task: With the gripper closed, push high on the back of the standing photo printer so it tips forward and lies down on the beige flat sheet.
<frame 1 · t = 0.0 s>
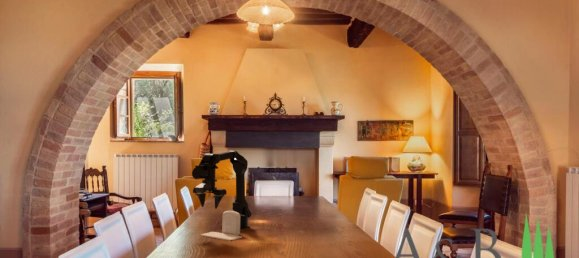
hand: (209, 207, 232), 15 cm above the table, fingers open, 9 cm apart
beige flat sheet: (221, 236, 231), on the table
photo printer: (231, 234, 237), on the table
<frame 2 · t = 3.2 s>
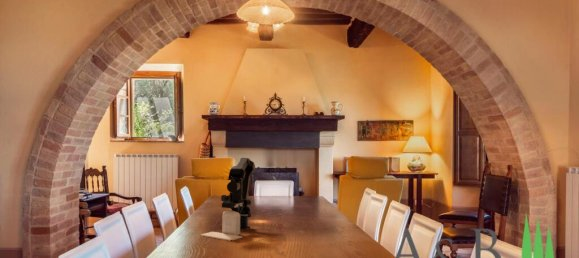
hand: (236, 219, 241), 7 cm above the table, fingers closed
photo printer: (231, 234, 237), on the table, touching gripper
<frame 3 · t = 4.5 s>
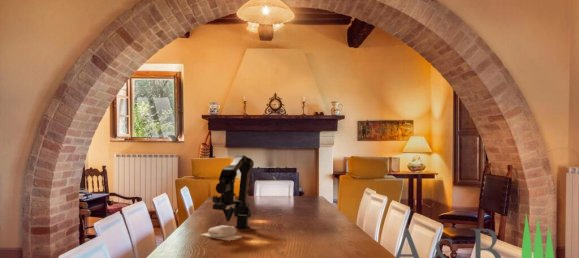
hand: (228, 221, 235), 7 cm above the table, fingers closed
photo printer: (229, 229, 236), point 3 cm above the table, touching beige flat sheet
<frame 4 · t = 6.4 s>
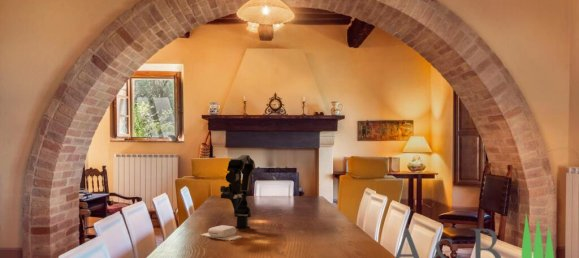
hand: (235, 210, 240), 12 cm above the table, fingers closed
nothing on the table moved.
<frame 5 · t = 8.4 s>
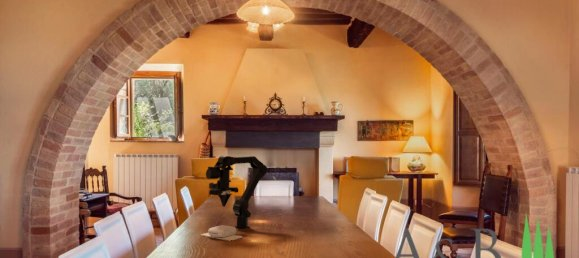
hand: (223, 206, 248), 13 cm above the table, fingers closed
nothing on the table moved.
at the end: photo printer tilted 90°; photo printer touching beige flat sheet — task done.
